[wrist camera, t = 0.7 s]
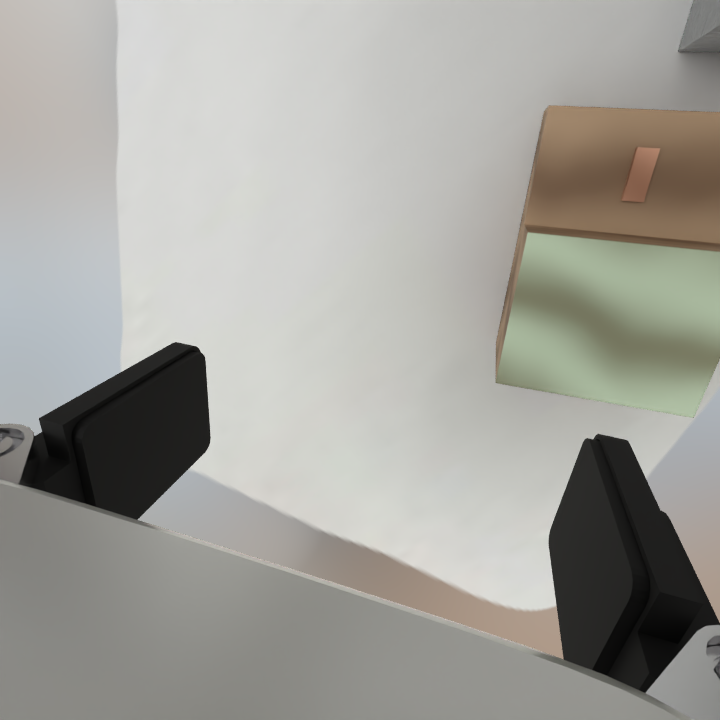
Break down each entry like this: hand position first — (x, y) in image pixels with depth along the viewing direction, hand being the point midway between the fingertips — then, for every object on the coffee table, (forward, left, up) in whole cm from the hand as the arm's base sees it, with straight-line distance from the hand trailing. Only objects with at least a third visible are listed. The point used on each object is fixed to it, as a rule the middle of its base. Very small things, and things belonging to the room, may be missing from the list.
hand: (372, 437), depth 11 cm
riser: (-1, +10, -28) cm, 29 cm away
